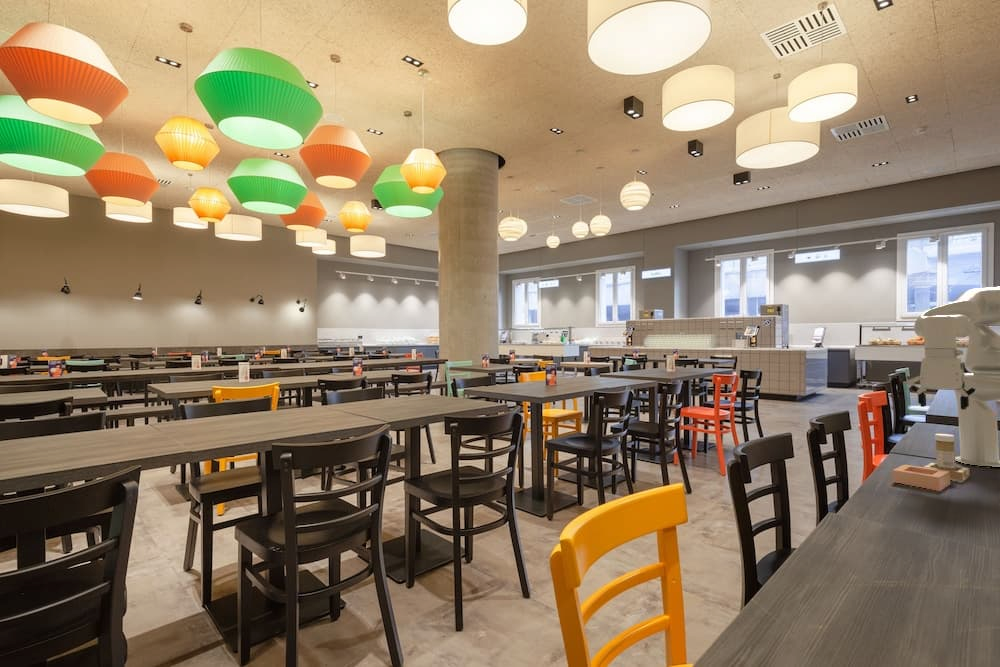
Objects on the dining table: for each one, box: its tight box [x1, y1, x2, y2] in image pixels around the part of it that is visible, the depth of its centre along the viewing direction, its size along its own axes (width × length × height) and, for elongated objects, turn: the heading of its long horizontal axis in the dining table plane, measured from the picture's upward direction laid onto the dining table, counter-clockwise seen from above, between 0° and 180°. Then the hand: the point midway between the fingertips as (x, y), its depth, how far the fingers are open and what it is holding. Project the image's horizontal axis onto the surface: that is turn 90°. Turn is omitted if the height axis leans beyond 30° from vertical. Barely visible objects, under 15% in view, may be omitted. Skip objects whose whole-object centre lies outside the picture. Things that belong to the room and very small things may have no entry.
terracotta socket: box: [892, 463, 951, 492], centre depth 144 cm, size 11×11×4 cm
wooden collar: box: [923, 462, 971, 483], centre depth 151 cm, size 9×9×3 cm
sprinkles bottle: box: [934, 433, 957, 471], centre depth 151 cm, size 5×5×13 cm
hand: (943, 407), depth 151 cm, fingers open, 9 cm apart
